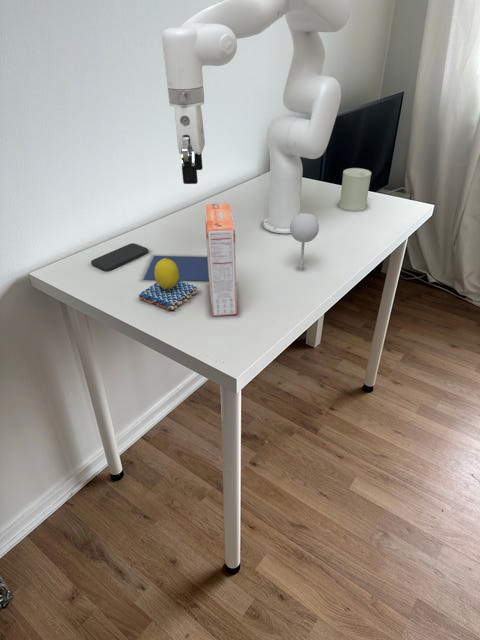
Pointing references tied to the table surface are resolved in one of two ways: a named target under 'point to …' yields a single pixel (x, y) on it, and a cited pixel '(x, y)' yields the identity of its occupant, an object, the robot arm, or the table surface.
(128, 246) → the phone
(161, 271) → the lemon
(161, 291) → the woven mat
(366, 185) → the can
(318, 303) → the table surface
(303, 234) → the lollipop
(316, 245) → the table surface
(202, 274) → the cloth
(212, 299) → the cracker box
